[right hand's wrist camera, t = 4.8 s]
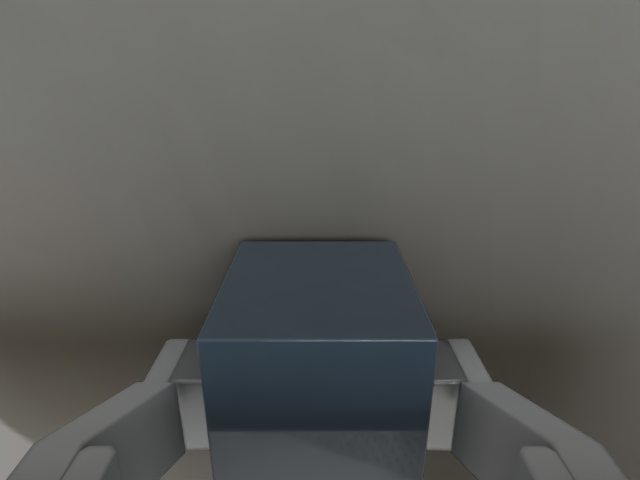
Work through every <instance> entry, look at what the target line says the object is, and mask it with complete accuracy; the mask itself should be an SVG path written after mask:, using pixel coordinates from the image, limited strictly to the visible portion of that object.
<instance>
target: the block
mask: <svg viewBox="0 0 640 480" xmlns="http://www.w3.org/2000/svg"><path fill="white" fill-rule="evenodd" d="M196 342H197V351H198V359H199V367H200V376H201V384H202V393H203V401H204V410H205V418H206V426H207V435H208V443H209V452H210V460H211V469H212V477H213V480H423V476H424V468H425V459H426V450H427V441H428V432H429V424H430V415H431V406H432V397H433V389H434V380H435V371H436V362H437V353H438V345H439V339H438V337H437V334H436V332H435V330H434V327H433V325H432V323H431V321H430V318H429V316H428V314H427V312H426V309H425V307H424V305H423V302H422V300H421V298H420V296H419V293H418V291H417V289H416V287H415V284H414V282H413V280H412V277H411V275H410V273H409V271H408V268H407V266H406V264H405V261H404V259H403V257H402V255H401V252H400V250H399V248H398V246H397V243H396V242H394V241H329V242H240V245H239V247H238V249H237V251H236V253H235V256H234V258H233V260H232V262H231V265H230V267H229V269H228V271H227V273H226V276H225V278H224V280H223V282H222V284H221V287H220V289H219V291H218V293H217V295H216V298H215V300H214V302H213V304H212V306H211V309H210V311H209V313H208V315H207V318H206V320H205V322H204V324H203V326H202V329H201V331H200V333H199V335H198V337H197V340H196Z"/></svg>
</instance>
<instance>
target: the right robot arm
mask: <svg viewBox="0 0 640 480" xmlns="http://www.w3.org/2000/svg"><path fill="white" fill-rule="evenodd" d="M196 340H197V339H169V340H167V341H166V343H165V344H164V346H163V348H162V350H161V351H160V353H159V355H158V357H157V358H156V360H155V362H154V364H153V365H152V367H151V369H150V371H149V372H148V374H147V376H146V378H145V379H144V381H143V382H136V383H134V384H132V385H131V386H129V387H127V388H126V389H124V390H122V391H121V392H119V393H117V394H116V395H114V396H112V397H111V398H109V399H107V400H106V401H104V402H102V403H101V404H99V405H97V406H96V407H94V408H92V409H91V410H89V411H88V412H86V413H84V414H83V415H81V416H79V417H78V418H76V419H74V420H73V421H71V422H69V423H68V424H66V425H64V426H63V427H61V428H59V429H58V430H56V431H54V432H53V433H51V434H49V435H48V436H46V437H44V438H43V439H41V440H39V441H38V442H36V443H34V444H33V445H32V447H31V448H30V449H29V451H28V452H27V453H26V454H25V456H24V457H23V458H22V460H21V461H20V462H19V464H18V465H17V466H16V468H15V469H14V470H13V471H12V473H11V474H10V475H9V477H8V478H7V479H6V480H159V479H160V478H161V477H162V476H163V475H164V474H165V473H166V472H167V471H168V470H169V469H170V468H171V467H172V466H173V465H174V464H175V463H176V462H177V461H178V459H179V458H180V457H181V456H182V455H183V454H184V453H185V451H191V450H209V443H208V435H207V426H206V418H205V410H204V401H203V393H202V384H201V376H200V367H199V359H198V351H197V342H196ZM427 450H445V451H451V453H452V454H453V455H454V456H455V457H456V458H457V459H458V460H459V461H460V462H461V463H462V464H463V465H464V466H465V467H466V468H467V469H468V470H469V471H470V472H471V473H472V474H473V475H474V476H475V478H476V479H477V480H628V478H627V477H626V476H625V474H624V473H623V472H622V470H621V469H620V468H619V466H618V465H617V463H616V462H615V461H614V459H613V458H612V457H611V455H610V454H609V453H608V451H607V450H606V449H605V447H604V446H603V445H602V444H601V443H599V442H597V441H596V440H594V439H592V438H591V437H589V436H587V435H586V434H584V433H582V432H581V431H579V430H578V429H576V428H574V427H573V426H571V425H569V424H568V423H566V422H564V421H563V420H561V419H559V418H558V417H556V416H555V415H553V414H551V413H550V412H548V411H546V410H545V409H543V408H541V407H540V406H538V405H536V404H535V403H533V402H532V401H530V400H528V399H527V398H525V397H523V396H522V395H520V394H518V393H517V392H515V391H513V390H512V389H510V388H509V387H507V386H505V385H504V384H502V383H500V382H493V381H492V379H491V377H490V376H489V374H488V372H487V370H486V369H485V367H484V365H483V363H482V362H481V360H480V358H479V356H478V354H477V353H476V351H475V349H474V347H473V346H472V344H471V342H470V340H468V339H446V340H439V345H438V353H437V362H436V371H435V380H434V389H433V397H432V406H431V415H430V424H429V432H428V441H427Z"/></svg>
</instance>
